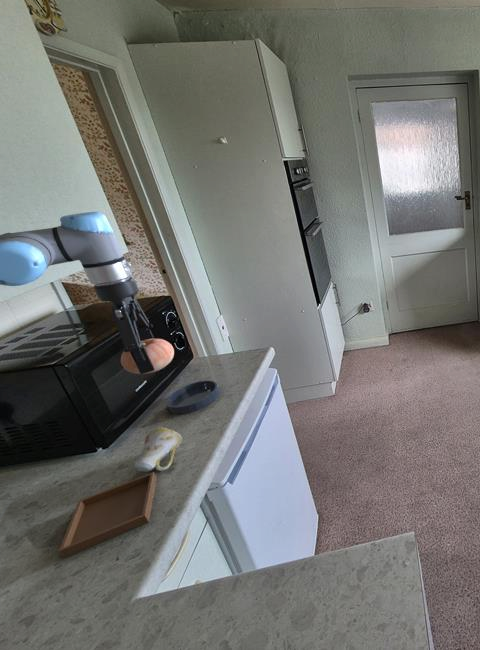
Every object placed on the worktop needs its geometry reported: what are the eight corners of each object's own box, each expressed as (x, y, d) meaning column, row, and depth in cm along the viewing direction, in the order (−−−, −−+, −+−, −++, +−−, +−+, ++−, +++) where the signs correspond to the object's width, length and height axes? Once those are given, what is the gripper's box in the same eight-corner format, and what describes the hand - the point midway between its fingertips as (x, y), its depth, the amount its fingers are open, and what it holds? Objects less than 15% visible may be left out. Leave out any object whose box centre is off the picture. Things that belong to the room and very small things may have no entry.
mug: (128, 479, 88) (122, 435, 88) (171, 464, 97) (165, 424, 98) (151, 475, 85) (145, 431, 86) (192, 460, 95) (186, 420, 96)
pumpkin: (128, 368, 100) (115, 341, 96) (177, 353, 105) (166, 327, 102) (127, 386, 91) (112, 358, 88) (180, 369, 97) (168, 341, 94)
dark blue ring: (167, 420, 106) (163, 413, 105) (171, 397, 117) (168, 390, 116) (220, 402, 112) (217, 395, 111) (219, 381, 122) (217, 375, 121)
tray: (63, 558, 71) (57, 551, 70) (83, 506, 81) (78, 500, 80) (148, 521, 76) (145, 515, 76) (157, 477, 87) (153, 471, 86)
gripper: (124, 290, 81) (163, 377, 90) (139, 266, 100) (171, 340, 108) (78, 299, 78) (124, 388, 86) (103, 272, 96) (139, 348, 105)
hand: (150, 361), depth 97 cm, fingers closed on pumpkin, 11 cm apart
